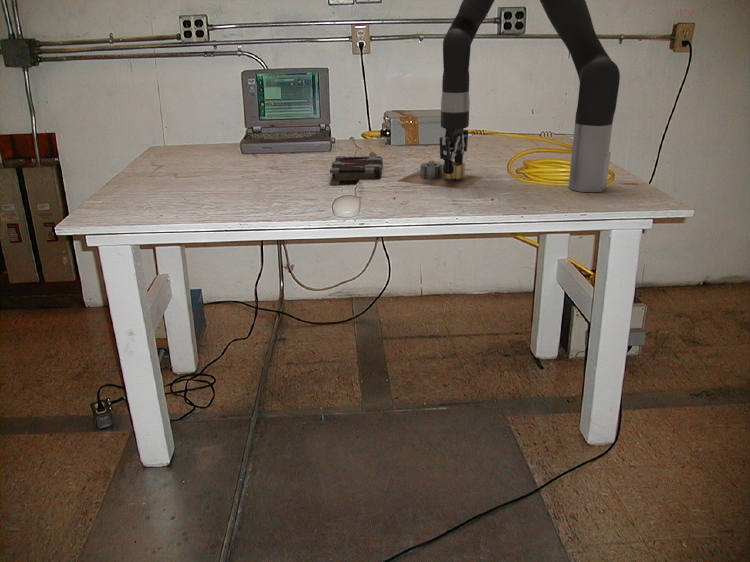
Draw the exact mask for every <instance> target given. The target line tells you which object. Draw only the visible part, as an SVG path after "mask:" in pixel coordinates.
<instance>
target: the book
mask: <svg viewBox="0 0 750 562" xmlns="http://www.w3.org/2000/svg"><path fill="white" fill-rule="evenodd" d="M383 159H384V158H383V157H382V156H378V155H377V154H376V153H375V152H374V151H372V152H370V153H369V156H345V155H343V156H342V155H338V156H337V155H336V156H335V160H332V163H331V167H330V168H329V174H330V175H331V177H332V178H331V180H330V181H329V183H330V186H339V185H357V184H358V183H359V181H360V180H361V179H362V180H363V179H365V180H367V179H375V180H381V178H382V174H383V168H384V160H383Z"/></svg>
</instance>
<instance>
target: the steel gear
mask: <svg viewBox="0 0 750 562" xmlns="http://www.w3.org/2000/svg"><path fill="white" fill-rule="evenodd" d="M419 165H420V167H419V170H420V177H422V179H429V180H432V179H440V177H442V174H443V163H441V162H434V166H429V162H422V163H421V164H419Z"/></svg>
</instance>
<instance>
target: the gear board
mask: <svg viewBox="0 0 750 562" xmlns="http://www.w3.org/2000/svg"><path fill="white" fill-rule="evenodd" d="M428 163H429V166H434V163H435V160H429V161H428ZM453 165H456V163H453ZM483 178H484V177H483V176H476V175H466V174H465V177H464V178H459V179H456V178H455V179H452V178H451V179H448V178H446V177H445V178H444V177H443V174H442V177H440V179H432V180H429V179H422V177H420V169H419V170H417V171H415V172H412V173H411V174H409V175H406V176H404V177H402V178H400V179H398V180H397V182H403V183H411V184H419V185H429V186H434V187H435V186H436V187H444V188H451V189H458V190H465V189H467V188H468V187H470V186H472V185H474V184H475V183H476V182H478V181H480V180H482V179H483Z"/></svg>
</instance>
